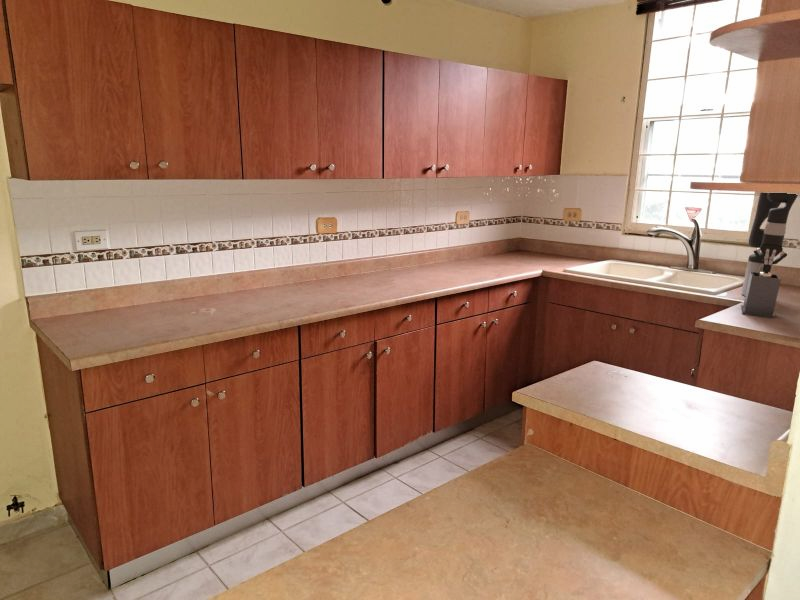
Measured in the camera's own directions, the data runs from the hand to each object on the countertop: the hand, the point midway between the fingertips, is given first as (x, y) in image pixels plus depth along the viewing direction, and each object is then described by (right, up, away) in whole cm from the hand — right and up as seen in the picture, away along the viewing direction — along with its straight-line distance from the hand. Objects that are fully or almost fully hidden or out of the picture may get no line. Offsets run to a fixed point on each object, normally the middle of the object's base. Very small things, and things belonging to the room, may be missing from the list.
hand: (765, 272), depth 251 cm
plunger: (-1, -16, +4) cm, 17 cm away
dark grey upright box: (-1, -18, +5) cm, 18 cm away
